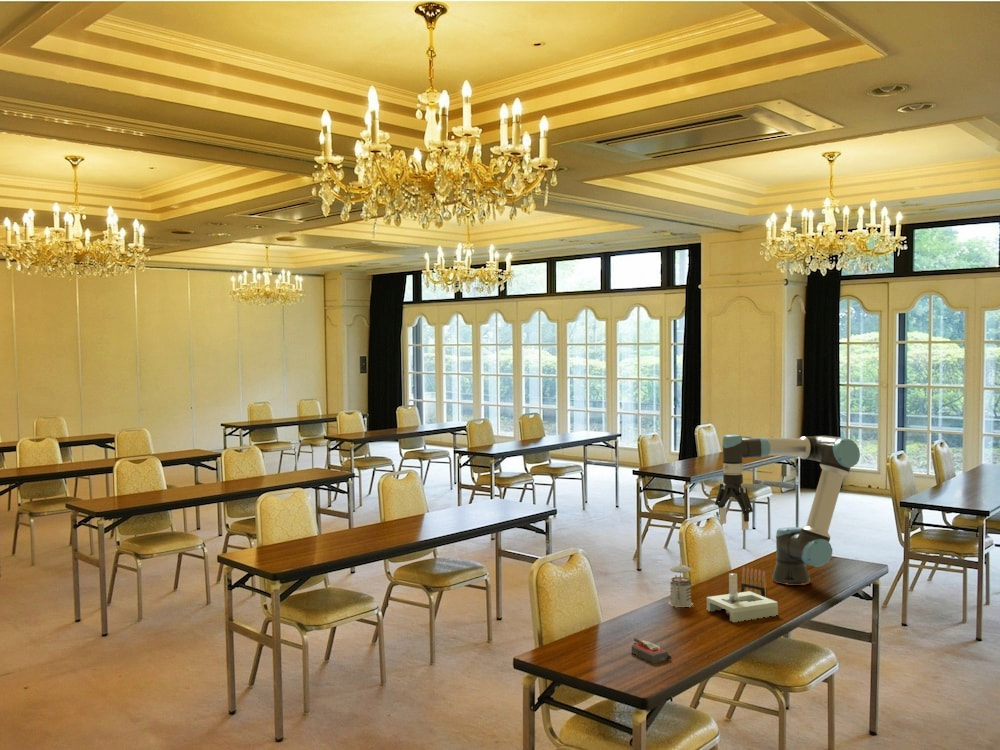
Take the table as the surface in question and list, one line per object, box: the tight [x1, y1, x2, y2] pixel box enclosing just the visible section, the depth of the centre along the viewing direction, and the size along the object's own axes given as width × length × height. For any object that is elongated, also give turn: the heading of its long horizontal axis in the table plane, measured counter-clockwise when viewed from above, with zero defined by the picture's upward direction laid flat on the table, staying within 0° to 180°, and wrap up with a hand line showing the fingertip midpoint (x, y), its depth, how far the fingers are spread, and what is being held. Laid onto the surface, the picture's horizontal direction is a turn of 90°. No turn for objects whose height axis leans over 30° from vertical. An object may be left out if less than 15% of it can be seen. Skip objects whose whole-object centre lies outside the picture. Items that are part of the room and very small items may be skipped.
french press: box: [667, 539, 694, 608], centre depth 317 cm, size 10×12×25 cm
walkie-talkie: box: [631, 637, 672, 664], centre depth 265 cm, size 9×4×20 cm
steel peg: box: [725, 572, 739, 616], centre depth 304 cm, size 6×6×15 cm
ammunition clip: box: [740, 566, 768, 598], centre depth 325 cm, size 11×2×12 cm, turn 42°
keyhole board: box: [706, 591, 779, 623], centre depth 306 cm, size 20×16×5 cm
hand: (733, 526), depth 326 cm, fingers open, 13 cm apart
